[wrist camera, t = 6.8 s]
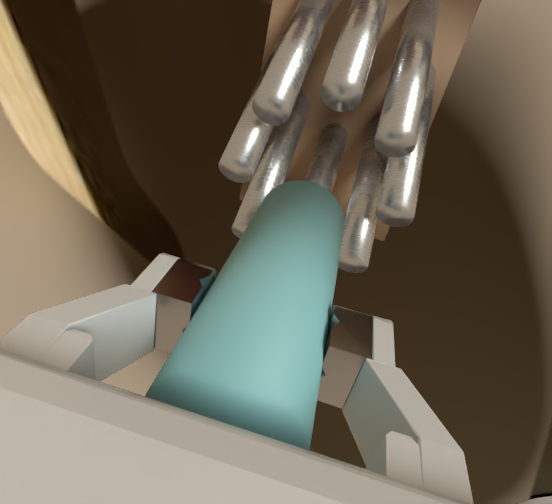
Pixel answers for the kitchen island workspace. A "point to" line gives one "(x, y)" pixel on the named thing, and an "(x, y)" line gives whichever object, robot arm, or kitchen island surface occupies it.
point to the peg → (264, 321)
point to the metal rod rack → (340, 97)
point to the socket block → (448, 44)
